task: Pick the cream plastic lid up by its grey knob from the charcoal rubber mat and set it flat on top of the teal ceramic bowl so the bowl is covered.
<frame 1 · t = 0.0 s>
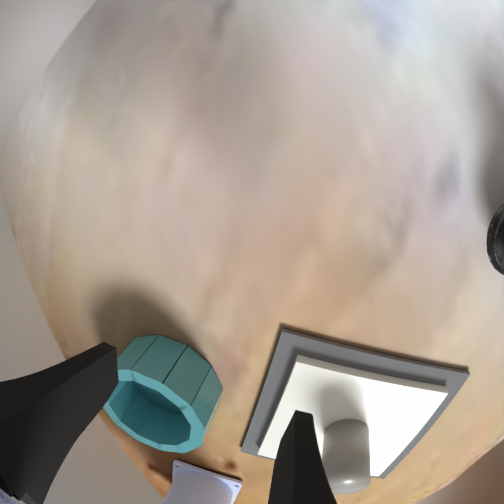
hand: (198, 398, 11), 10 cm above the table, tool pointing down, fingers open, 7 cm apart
lid: (346, 425, 23), resting on mat
bowl: (170, 379, 25), on the table
mat: (346, 422, 23), on the table
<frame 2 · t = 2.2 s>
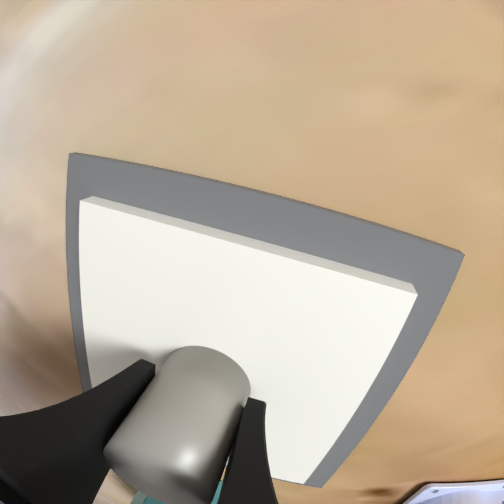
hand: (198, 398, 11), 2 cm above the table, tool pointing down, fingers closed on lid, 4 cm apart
lid: (212, 369, 13), resting on mat, touching gripper
bowl: (203, 499, 19), on the table
mat: (215, 363, 13), on the table
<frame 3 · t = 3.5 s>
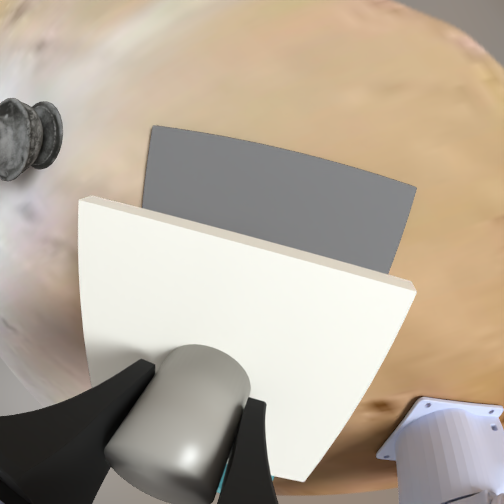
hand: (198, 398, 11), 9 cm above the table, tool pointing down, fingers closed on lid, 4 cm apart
lid: (212, 368, 13), point 8 cm above the table, touching gripper
dark grey turned figure: (42, 135, 20), on the table
mat: (253, 274, 19), on the table
when the fingers open (7 cm above the table, at t = 5.0 s): lid stays where it is, resting on bowl.
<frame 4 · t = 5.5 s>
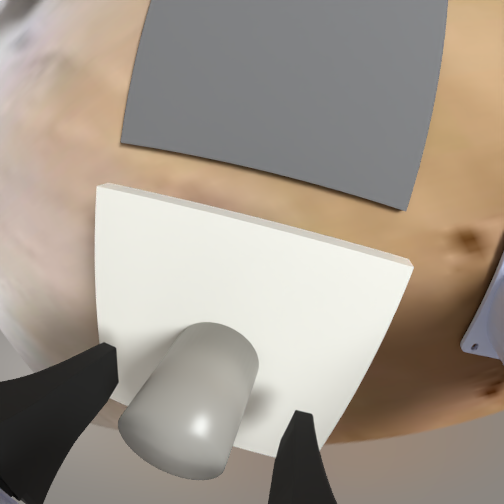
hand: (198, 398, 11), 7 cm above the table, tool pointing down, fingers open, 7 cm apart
lid: (221, 347, 14), point 4 cm above the table, touching bowl
mat: (287, 23, 12), on the table
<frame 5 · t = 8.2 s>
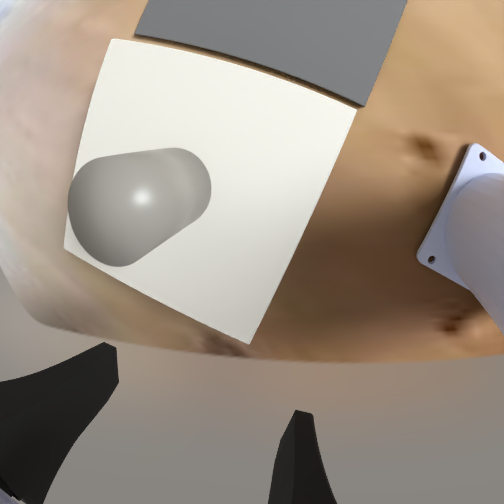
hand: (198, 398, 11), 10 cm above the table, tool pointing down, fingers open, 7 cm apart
lid: (181, 184, 15), point 4 cm above the table, touching bowl
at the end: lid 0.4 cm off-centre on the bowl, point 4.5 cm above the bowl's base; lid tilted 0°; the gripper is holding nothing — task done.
